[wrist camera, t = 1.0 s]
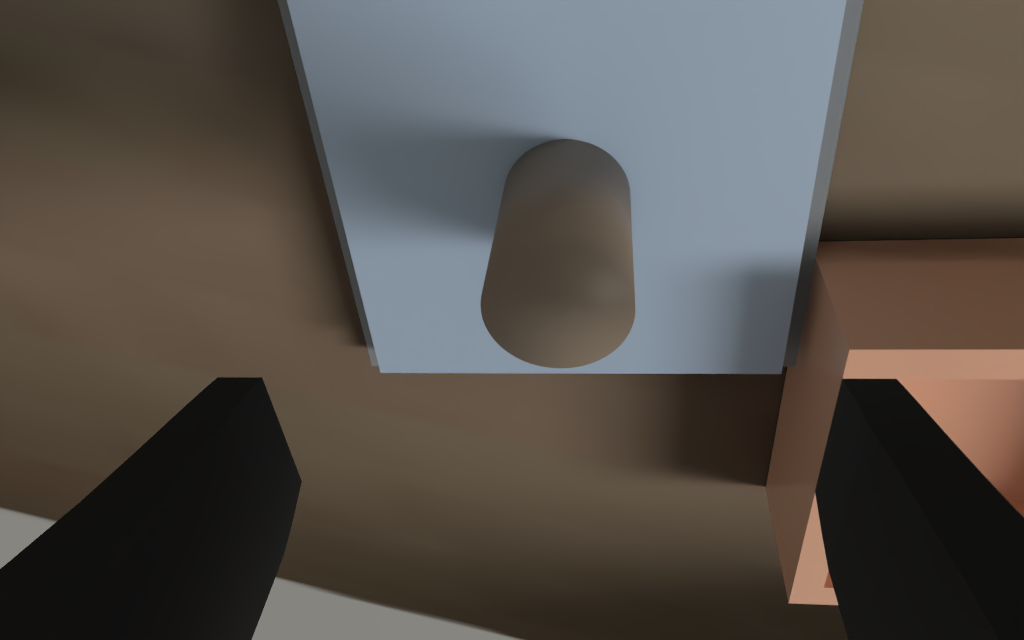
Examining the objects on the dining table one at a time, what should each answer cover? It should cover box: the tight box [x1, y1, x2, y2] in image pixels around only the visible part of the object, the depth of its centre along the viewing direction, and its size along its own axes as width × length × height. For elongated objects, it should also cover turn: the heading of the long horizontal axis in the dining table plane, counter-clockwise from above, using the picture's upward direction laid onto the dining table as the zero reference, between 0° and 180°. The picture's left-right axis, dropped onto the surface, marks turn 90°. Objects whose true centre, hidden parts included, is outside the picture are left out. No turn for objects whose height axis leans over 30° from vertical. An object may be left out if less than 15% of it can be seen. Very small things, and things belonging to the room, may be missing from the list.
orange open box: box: [766, 238, 1024, 605], centre depth 17 cm, size 8×8×4 cm
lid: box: [287, 0, 846, 374], centre depth 14 cm, size 9×9×4 cm
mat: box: [277, 0, 864, 367], centre depth 16 cm, size 10×10×1 cm
